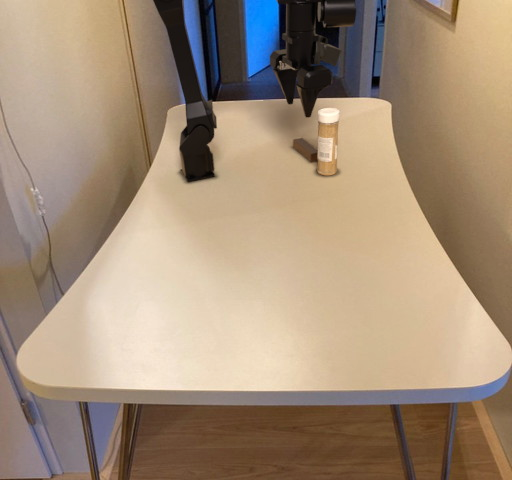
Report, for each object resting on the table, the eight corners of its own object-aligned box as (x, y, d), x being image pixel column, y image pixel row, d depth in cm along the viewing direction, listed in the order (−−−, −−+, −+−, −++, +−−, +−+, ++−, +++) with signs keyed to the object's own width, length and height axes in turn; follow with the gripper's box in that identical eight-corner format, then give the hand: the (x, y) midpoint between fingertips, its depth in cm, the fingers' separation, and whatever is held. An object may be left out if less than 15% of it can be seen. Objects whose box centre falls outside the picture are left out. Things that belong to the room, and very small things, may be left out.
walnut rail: (310, 162, 128) (311, 153, 126) (293, 147, 135) (293, 139, 134) (320, 160, 128) (320, 151, 127) (301, 145, 135) (302, 137, 134)
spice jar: (341, 171, 123) (344, 109, 114) (327, 178, 121) (330, 116, 112) (325, 165, 126) (327, 105, 117) (312, 172, 124) (313, 111, 115)
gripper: (360, 33, 103) (353, 118, 113) (317, 15, 116) (314, 92, 126) (306, 40, 100) (303, 127, 110) (268, 21, 113) (269, 99, 124)
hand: (298, 110), depth 118 cm, fingers open, 9 cm apart
